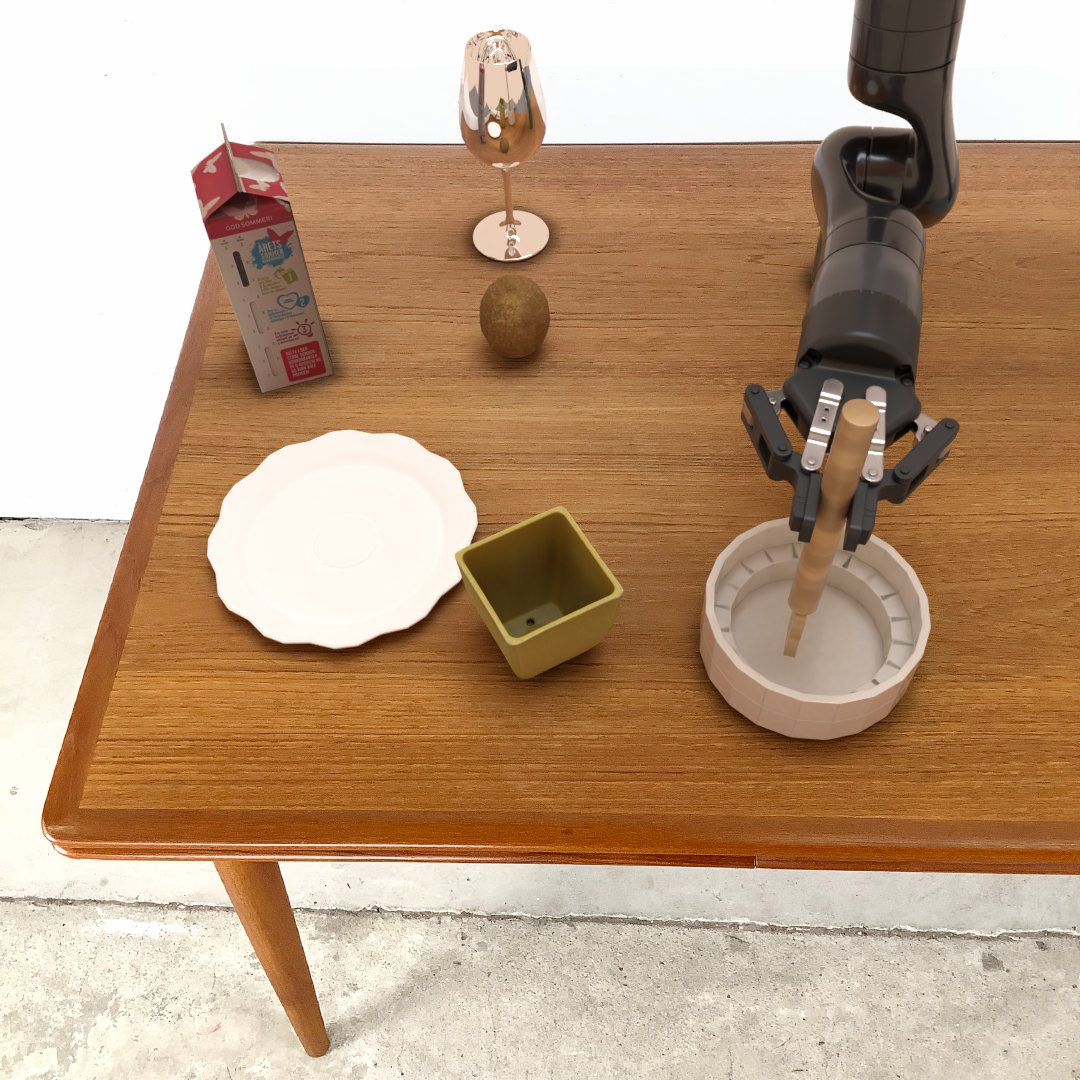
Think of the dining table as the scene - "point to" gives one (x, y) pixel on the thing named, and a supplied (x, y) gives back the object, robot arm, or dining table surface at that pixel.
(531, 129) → the wineglass
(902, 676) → the bowl
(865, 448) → the stirring stick
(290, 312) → the juice carton
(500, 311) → the fruit
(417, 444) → the plate
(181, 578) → the dining table surface
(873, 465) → the robot arm
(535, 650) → the flower pot
